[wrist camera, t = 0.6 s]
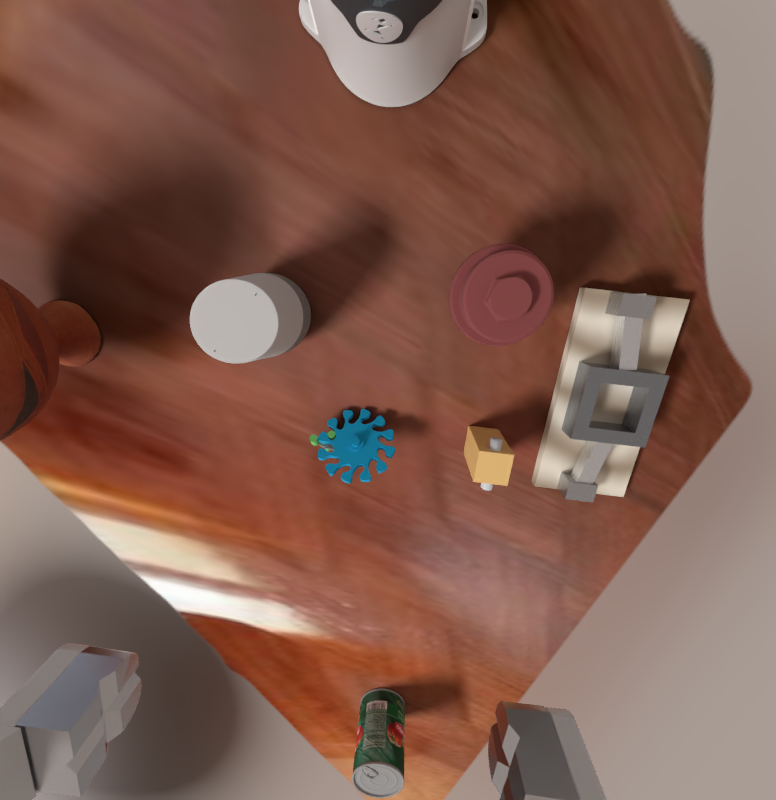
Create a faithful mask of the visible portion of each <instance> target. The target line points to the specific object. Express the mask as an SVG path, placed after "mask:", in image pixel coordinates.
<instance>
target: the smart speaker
mask: <svg viewBox="0 0 776 800" xmlns="http://www.w3.org/2000/svg"><path fill="white" fill-rule="evenodd" d="M310 322H311V310H310V305H309V302H308V300H307V297H306V296H305V294H304V292H303V291H302V290H301V289H300V287H299V286H298V285H297V284H295V283H294V282H293V281H291V280H290V279H288V278H286V277H284V276H281V275H278V274H274V273H255V274H249V275H244V276H239V277H234V278H229V279H224V280H220V281H217V282H215V283H213V284H211V285H209V286H207V287H206V288H205V289H204V290H203V291H201V292H200V294H199V295H198V296H197V298H196V299H195V301H194V303H193V305H192V308H191V312H190V327H191V331H192V334H193V336H194V338H195V340H196V342H197V343H198V345H199V346H200V347H201V348H202V349H203V350H204V351H205V352H206V353H207V354H209V355H210V356H212V357H213V358H215V359H217V360H220V361H223V362H227V363H246V362H251V361H255V360H260V359H264V358H269V357H274V356H277V355H280V354H283V353H285V352H288V351H290V350H291V349H293V348H294V347H296V346H297V345H298V344H299V343H300V342H301V341H302V340H303V339H304V337H305V336H306V334H307V332H308V329H309V326H310Z"/></svg>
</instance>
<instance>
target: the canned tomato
mask: <svg viewBox="0 0 776 800" xmlns="http://www.w3.org/2000/svg"><path fill="white" fill-rule="evenodd" d="M360 705H361V706H360V713H359V723H358V732H357V740H356V750H355V757H354V768H353V775H352V782H353V785H354V786H355V788H356V789H357V790H358V791H359V792H361V793H362V794H364V795H367V796H370V797H375V798H387V797H391V796H393V795H396V794H397V793H399V792H400V791H401V790H402V788H403V786H404V729H405V727H404V724H405V721H404V719H405V715H404V709H405V703H404V700H403V698H402V697H401V696H400V695H399V694H398V693H397V692H395V691H393V690H390V689H385V688H377V689H373V690H370V691H368V692H367V693H365V694H364V695H363V697H362V699H361V703H360Z"/></svg>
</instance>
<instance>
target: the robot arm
mask: <svg viewBox="0 0 776 800" xmlns="http://www.w3.org/2000/svg"><path fill="white" fill-rule="evenodd" d="M472 13H476V14H477V15H478V18H476V19H473V18H471V17H472ZM299 14H300V18H301V22H302V24H303V26H304V27H305V29H306V30H307V31H308V32H309V33H310V34H311V35H312V36H313V37H314V38H315V39H316V40H317V41H318V42H319V43H320V44H321V45H322V46H323V48H324V50H325V52H326V54H327V56H328V58H329V60H330V62H331V65H332V67H333V69H334V70H335V72H336V74H337V75H338V77H339V78H340V80H341V81H342V82H343V83H344V85H345V86H346V87H347V88H348V89H349V90H350V91H351V92H353V93H354V94H355V95H357V96H358V97H359V98H361V99H363V100H365V101H367V102H369V103H371V104H375V105H378V106H384V107H399V106H405V105H408V104H411V103H414V102H416V101H418V100H420V99H422V98H424V97H425V96H427V95H428V94H430V93H431V92H432V91H433V90H434V89H436V88H437V87H438V86H439V84H440V83H441V82H442V81H443V80H444V79H445V77H446V76H447V75H448V73H449V72H450V70H451V69H452V68H453V66H454V65H455V64H456V63H457V61H458V60H459V59H461V58H462V57H464V56H466V55H467V54H469V53H471V52H472V51H473V50H475V49H476V48H477V47H479V46H480V45H481V44H482V42H483V41H484V39H485V36H486V30H487V0H300V4H299ZM138 665H139V660H138V654H137V653H131V652H125V651H118V650H111V649H105V648H99V647H92V646H87V645H79V644H72V643H67V644H65V645H64V646H62V647H61V648H59V649H57V650H56V651H55V652H54V653H53V654H52V656H50V657H49V658H48V660H47V661H46V662H45V663H44V664H43V665H42V666H41V667H40V668H39V669H38V670H37V671H36V672H35V673H34V674H33V675H32V676H31V677H30V678H29V679H28V680H27V681H26V682H25V683H24V684H23V685H22V686H21V687H20V688H19V690H17V691H16V693H15V694H14V695H13V696H12V697H11V698H10V699H9V700H8V701H7V702H6V703H5V704H4V705H3V706H2V707H1V708H0V800H32V799H33V798H34V797H35V796H36V793H45V794H55V795H66V796H75V797H81V796H82V794H83V793H84V791H85V789H86V788H87V786H88V785H89V783H90V782H91V780H92V778H93V777H94V775H95V774H96V772H97V771H98V769H99V768H100V766H101V765H102V763H103V761H104V760H105V758H106V757H107V743H108V742H109V741H110V740H112V739H113V738H115V737H116V736H117V735H118V734H120V733H121V732H123V730H124V729H125V727H126V725H127V724H128V722H129V720H130V719H131V717H132V716H133V713H134V711H135V708H136V706H137V704H138V701H139V698H140V693H141V679H140V678H139V677H138V676H137V675H136V673H135V672H134V671H135V670H136V668H137V667H138ZM495 714H496V719H497V723H496V724H494V725H493V726H491V730H490V734H489V742H488V757H489V767H490V774H491V780H492V783H493V784H494V785H495V787H496V789H497V790H498V792H499V793H500V795H501V797H500V800H607V799H606V797H605V794H604V791H603V789H602V786H601V784H600V782H599V779H598V776H597V774H596V771H595V769H594V766H593V764H592V761H591V759H590V756H589V754H588V751H587V749H586V746H585V744H584V741H583V738H582V736H581V733H580V731H579V728H578V726H577V723H576V721H575V719H574V716H573V715H572V714H571V712H570V711H568V710H566V709H556V708H547V707H544V706H539V705H529V704H521V703H512V702H504V701H500V702H499V703H498V704H497V708H496V711H495Z"/></svg>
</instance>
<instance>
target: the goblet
mask: <svg viewBox="0 0 776 800" xmlns="http://www.w3.org/2000/svg"><path fill="white" fill-rule="evenodd" d="M100 343H101V335H100V332H99V329H98V326H97V325H96V323H95V322H94V320H93V319H92V318H91V316H90V315H89V314H88V313H87V312H86V311H85V310H84V309H83V308H82V307H80V306H79V305H77V304H75V303H71V302H68V301H61V300H57V301H50V302H48V303H45V304H43V305H42V306H40V307H39V308H38V309H37V308H36V307H35V305H34V304H33V303H32V302H31V301H30V300H29V299H28V298H26V297H25V296H24V295H23V294H22V293H20V292H19V291H18V290H16V289H15V288H14V287H12V286H11V285H9V284H8V283H6V282H5V281H3V280H2V279H0V441H1V440H3V439H4V438H6V437H8V436H10V435H11V434H13V433H14V432H16V431H17V430H19V429H20V428H22V427H23V426H25V425H26V424H27V423H29V422H30V421H31V420H32V419H33V418H34V417H35V416H36V415H37V414H38V413H39V412H40V411H41V410H42V409H43V408H44V406H45V405H46V403H47V402H48V400H49V399H50V397H51V395H52V392H53V390H54V388H55V386H56V382H57V378H58V373H59V364H63V365H66V366H73V367H75V366H81V365H84V364H86V363H88V362H89V361H91V360H92V359H93V358H94V357H95V355H96V354H97V353H98V352H99V349H100Z"/></svg>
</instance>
